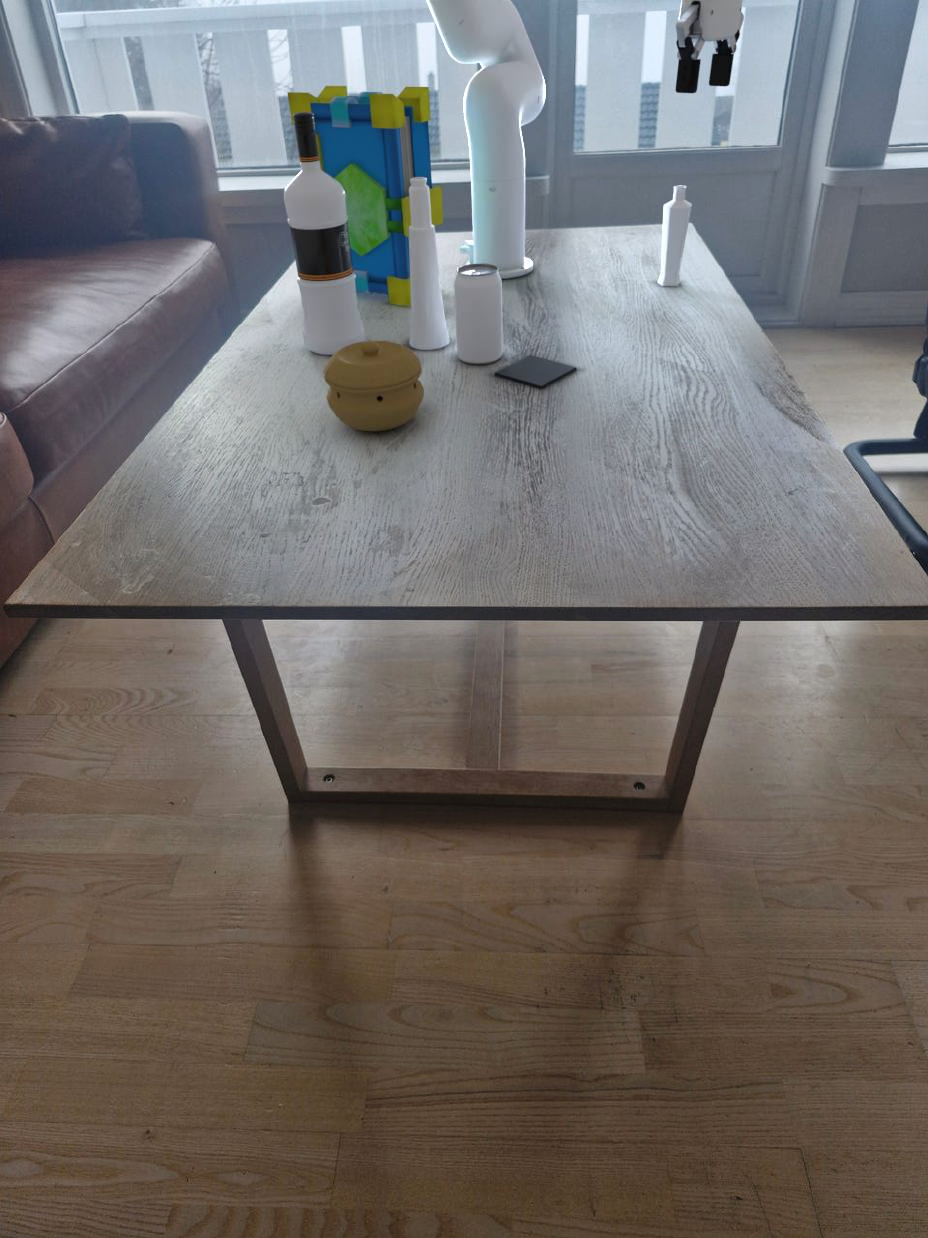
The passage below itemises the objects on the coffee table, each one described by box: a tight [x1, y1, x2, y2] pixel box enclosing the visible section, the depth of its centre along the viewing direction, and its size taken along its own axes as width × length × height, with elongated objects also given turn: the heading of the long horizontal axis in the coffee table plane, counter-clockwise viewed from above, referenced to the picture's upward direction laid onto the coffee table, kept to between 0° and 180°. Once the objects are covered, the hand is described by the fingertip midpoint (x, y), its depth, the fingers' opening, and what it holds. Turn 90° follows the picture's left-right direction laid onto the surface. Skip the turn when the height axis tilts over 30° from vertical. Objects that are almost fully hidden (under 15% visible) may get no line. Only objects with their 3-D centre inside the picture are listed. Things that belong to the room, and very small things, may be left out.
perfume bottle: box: [657, 184, 693, 287], centre depth 133 cm, size 5×4×15 cm
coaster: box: [494, 354, 577, 390], centre depth 108 cm, size 8×8×1 cm
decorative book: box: [286, 85, 444, 308], centre depth 132 cm, size 14×23×30 cm, turn 58°
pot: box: [323, 339, 425, 432], centre depth 95 cm, size 12×12×10 cm
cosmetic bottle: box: [408, 177, 450, 351], centre depth 112 cm, size 6×6×22 cm
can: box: [453, 263, 503, 366], centre depth 110 cm, size 6×6×12 cm
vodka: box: [283, 112, 367, 356], centre depth 111 cm, size 9×9×30 cm
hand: (702, 88), depth 118 cm, fingers open, 9 cm apart
